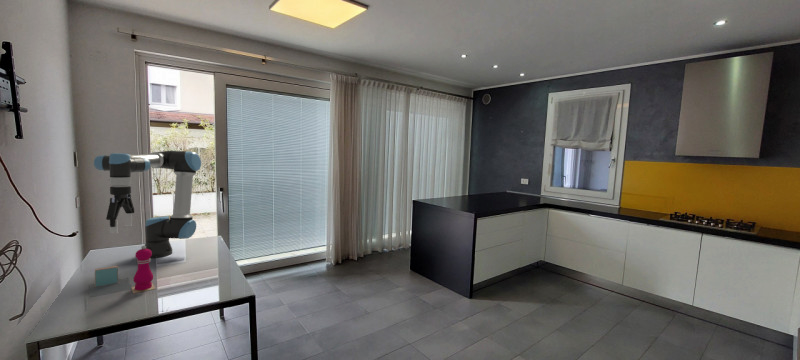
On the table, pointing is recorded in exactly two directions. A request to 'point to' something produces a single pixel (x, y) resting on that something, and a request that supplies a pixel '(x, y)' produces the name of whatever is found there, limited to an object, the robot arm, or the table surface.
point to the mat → (109, 288)
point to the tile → (106, 276)
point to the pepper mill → (143, 269)
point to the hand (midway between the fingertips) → (121, 229)
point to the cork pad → (142, 290)
